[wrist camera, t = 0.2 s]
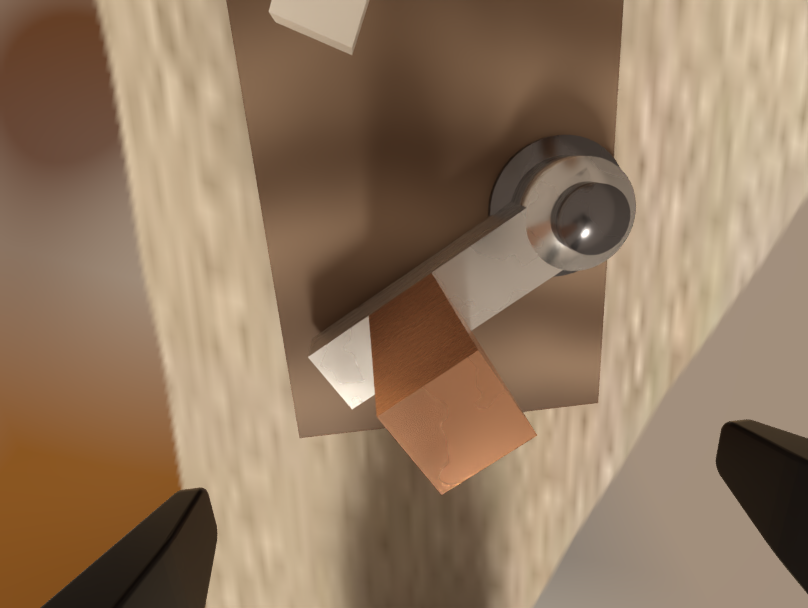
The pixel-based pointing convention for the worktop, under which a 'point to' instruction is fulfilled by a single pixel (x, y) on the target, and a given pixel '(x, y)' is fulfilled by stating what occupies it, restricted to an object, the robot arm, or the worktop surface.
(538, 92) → the walnut board
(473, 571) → the worktop surface
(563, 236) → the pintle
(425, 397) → the lever link
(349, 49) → the block
